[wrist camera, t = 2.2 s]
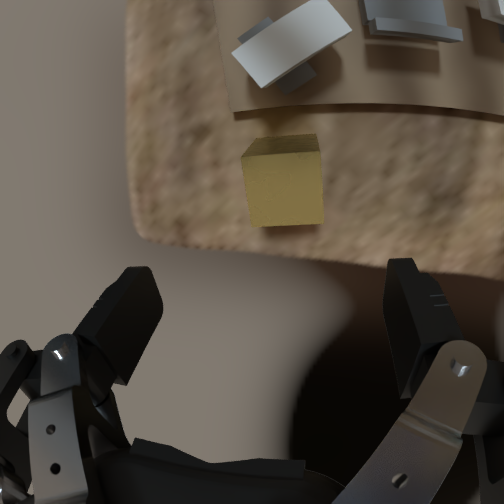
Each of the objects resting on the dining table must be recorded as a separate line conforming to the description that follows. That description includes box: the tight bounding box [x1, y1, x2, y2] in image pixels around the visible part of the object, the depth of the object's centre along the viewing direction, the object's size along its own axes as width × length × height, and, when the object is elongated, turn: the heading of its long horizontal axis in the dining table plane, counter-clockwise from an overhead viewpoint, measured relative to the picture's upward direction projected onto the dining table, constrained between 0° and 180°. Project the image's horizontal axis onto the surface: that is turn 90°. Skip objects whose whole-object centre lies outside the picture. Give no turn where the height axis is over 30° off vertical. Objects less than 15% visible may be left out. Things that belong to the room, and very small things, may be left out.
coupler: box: [241, 134, 324, 227], centre depth 20 cm, size 4×4×6 cm
